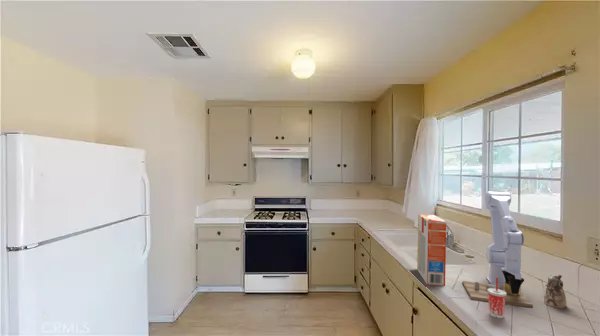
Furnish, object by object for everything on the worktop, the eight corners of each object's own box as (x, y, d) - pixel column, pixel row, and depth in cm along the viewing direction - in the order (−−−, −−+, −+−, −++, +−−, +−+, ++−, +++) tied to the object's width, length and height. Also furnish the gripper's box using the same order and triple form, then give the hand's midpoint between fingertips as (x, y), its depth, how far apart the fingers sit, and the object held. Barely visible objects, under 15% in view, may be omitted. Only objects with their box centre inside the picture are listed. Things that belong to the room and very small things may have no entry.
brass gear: (502, 289, 139) (502, 280, 139) (517, 291, 138) (517, 282, 138) (506, 294, 134) (506, 285, 134) (522, 296, 132) (522, 287, 132)
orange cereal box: (445, 285, 147) (446, 221, 147) (427, 284, 148) (428, 221, 148) (432, 270, 169) (433, 214, 170) (417, 269, 171) (418, 214, 171)
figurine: (539, 300, 132) (540, 271, 132) (556, 300, 132) (557, 272, 132) (552, 307, 125) (553, 277, 125) (570, 308, 125) (571, 278, 125)
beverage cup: (499, 320, 113) (499, 281, 113) (483, 313, 119) (483, 276, 119) (509, 317, 116) (510, 279, 116) (493, 310, 121) (494, 274, 121)
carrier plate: (462, 283, 151) (462, 273, 151) (515, 289, 144) (515, 279, 144) (471, 299, 132) (471, 288, 132) (532, 307, 125) (533, 295, 125)
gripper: (497, 254, 144) (496, 283, 144) (507, 262, 130) (506, 295, 130) (515, 255, 142) (514, 285, 142) (527, 264, 128) (526, 298, 128)
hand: (512, 290), depth 136 cm, fingers closed on brass gear, 6 cm apart
